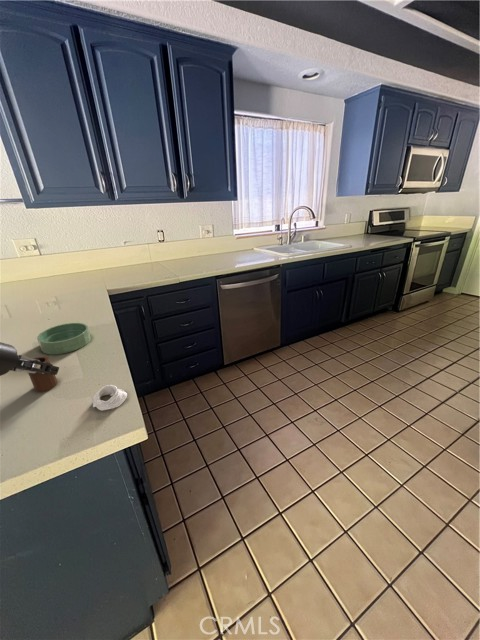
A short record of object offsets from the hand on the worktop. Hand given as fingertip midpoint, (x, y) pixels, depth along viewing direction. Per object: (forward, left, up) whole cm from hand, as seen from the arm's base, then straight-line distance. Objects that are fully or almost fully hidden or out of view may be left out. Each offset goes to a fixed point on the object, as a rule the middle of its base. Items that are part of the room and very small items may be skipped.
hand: (47, 369), depth 73 cm
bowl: (-2, +24, -5) cm, 24 cm away
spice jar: (-1, -1, -5) cm, 5 cm away
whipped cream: (+17, -13, -5) cm, 22 cm away
